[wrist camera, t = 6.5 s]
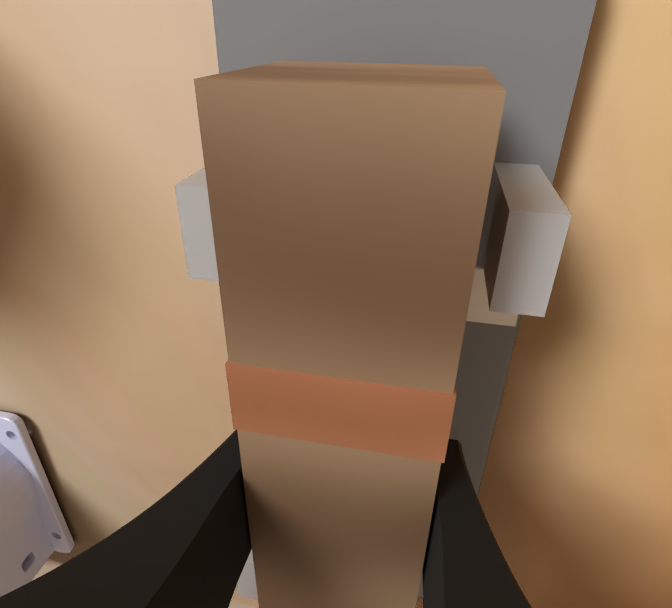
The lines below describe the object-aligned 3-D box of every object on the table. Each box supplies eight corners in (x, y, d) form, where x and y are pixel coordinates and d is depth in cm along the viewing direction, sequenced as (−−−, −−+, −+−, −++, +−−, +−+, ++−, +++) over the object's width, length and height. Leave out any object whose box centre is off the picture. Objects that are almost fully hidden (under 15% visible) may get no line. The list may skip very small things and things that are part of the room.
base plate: (451, 580, 21) (452, 704, 17) (274, 544, 22) (237, 652, 18) (595, -44, 10) (687, -89, 6) (225, -42, 11) (109, -77, 7)
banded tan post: (406, 595, 18) (396, 729, 15) (301, 573, 19) (267, 697, 15) (487, 66, 9) (511, 90, 6) (280, 60, 10) (188, 79, 6)
